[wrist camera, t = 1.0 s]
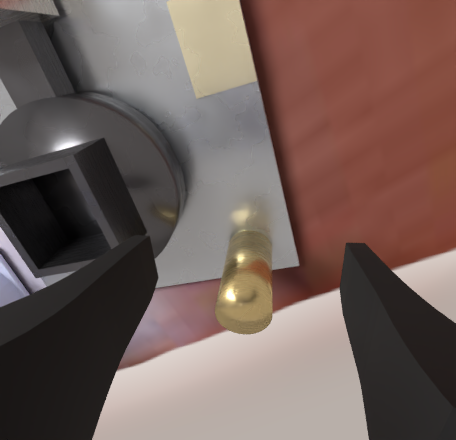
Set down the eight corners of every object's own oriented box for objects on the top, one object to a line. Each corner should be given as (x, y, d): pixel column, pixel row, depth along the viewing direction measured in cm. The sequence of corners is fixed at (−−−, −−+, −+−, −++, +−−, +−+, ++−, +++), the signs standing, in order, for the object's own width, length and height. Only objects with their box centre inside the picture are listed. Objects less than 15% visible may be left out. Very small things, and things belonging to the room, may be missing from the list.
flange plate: (64, 294, 28) (56, 304, 27) (-92, 57, 20) (-112, 58, 18) (298, 257, 23) (299, 267, 22) (223, -77, 15) (219, -86, 14)
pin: (234, 269, 23) (224, 336, 18) (222, 234, 22) (207, 296, 17) (276, 263, 22) (277, 331, 17) (266, 226, 21) (264, 287, 16)
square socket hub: (70, 266, 24) (23, 317, 20) (-114, -33, 16) (-265, -62, 12) (208, 240, 22) (191, 293, 17) (72, -131, 14) (-29, -218, 9)
